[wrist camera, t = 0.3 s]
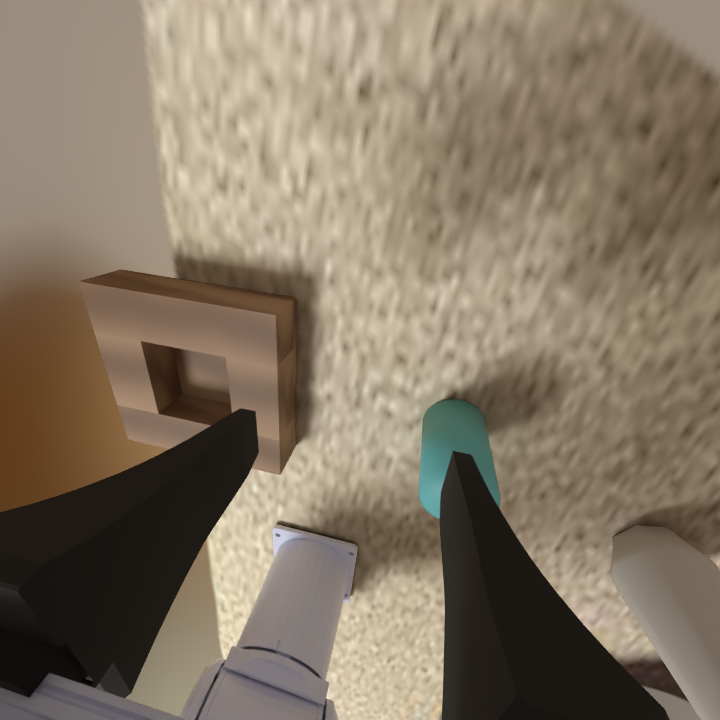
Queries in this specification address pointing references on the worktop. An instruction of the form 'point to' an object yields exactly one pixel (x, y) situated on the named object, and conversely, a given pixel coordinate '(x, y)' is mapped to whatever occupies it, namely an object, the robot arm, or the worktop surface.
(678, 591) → the salt shaker
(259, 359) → the socket block
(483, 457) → the teal pin
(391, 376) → the worktop surface
